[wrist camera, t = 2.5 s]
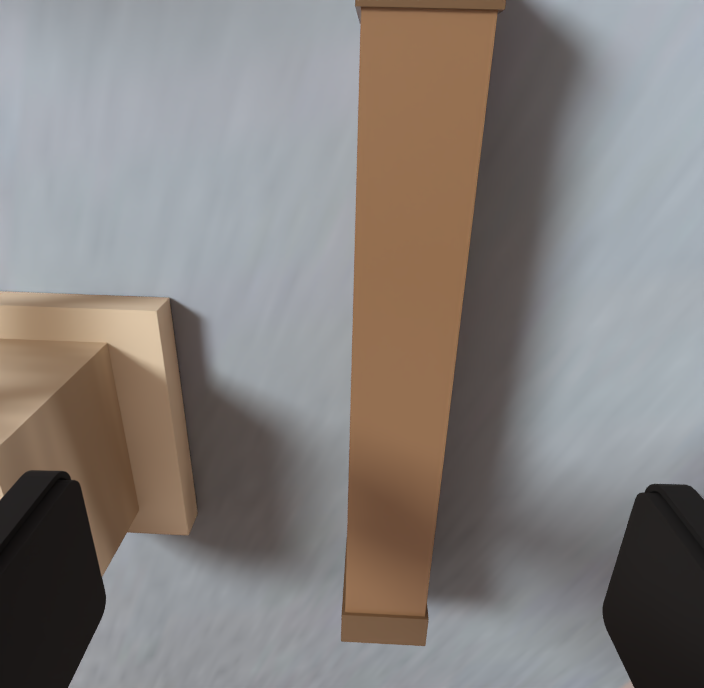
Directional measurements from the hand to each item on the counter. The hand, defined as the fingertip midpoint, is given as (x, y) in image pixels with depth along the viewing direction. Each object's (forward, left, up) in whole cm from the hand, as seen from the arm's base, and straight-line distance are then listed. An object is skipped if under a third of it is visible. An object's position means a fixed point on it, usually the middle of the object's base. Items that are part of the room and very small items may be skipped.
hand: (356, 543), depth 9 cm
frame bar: (-1, -1, -7) cm, 7 cm away
